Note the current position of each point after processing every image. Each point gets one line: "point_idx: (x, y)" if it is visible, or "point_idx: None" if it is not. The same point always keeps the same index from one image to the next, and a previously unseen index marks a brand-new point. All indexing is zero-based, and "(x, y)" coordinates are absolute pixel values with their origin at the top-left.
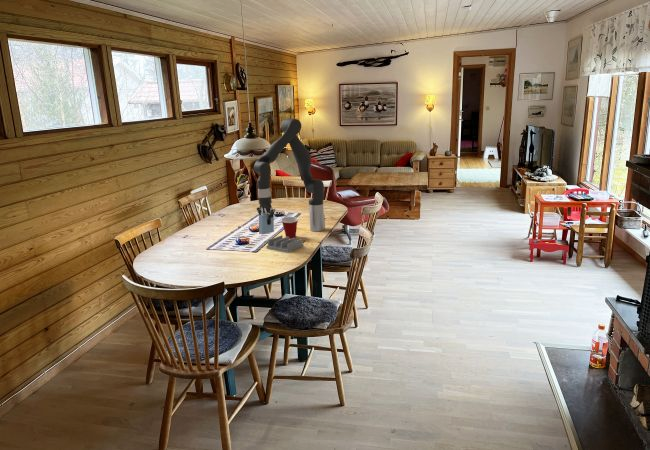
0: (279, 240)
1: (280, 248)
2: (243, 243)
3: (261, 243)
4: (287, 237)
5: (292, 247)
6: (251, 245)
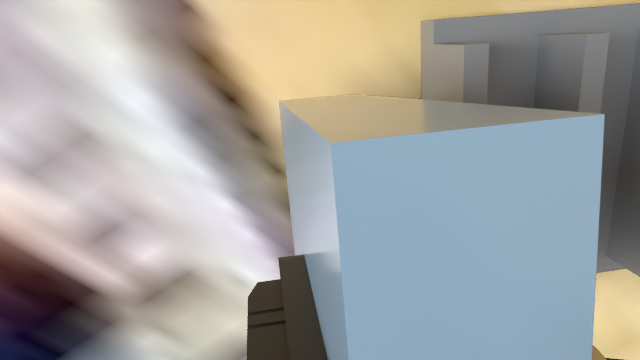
0: None
1: (612, 268)
2: (41, 324)
3: (226, 206)
4: (602, 63)
5: None
6: (193, 314)
